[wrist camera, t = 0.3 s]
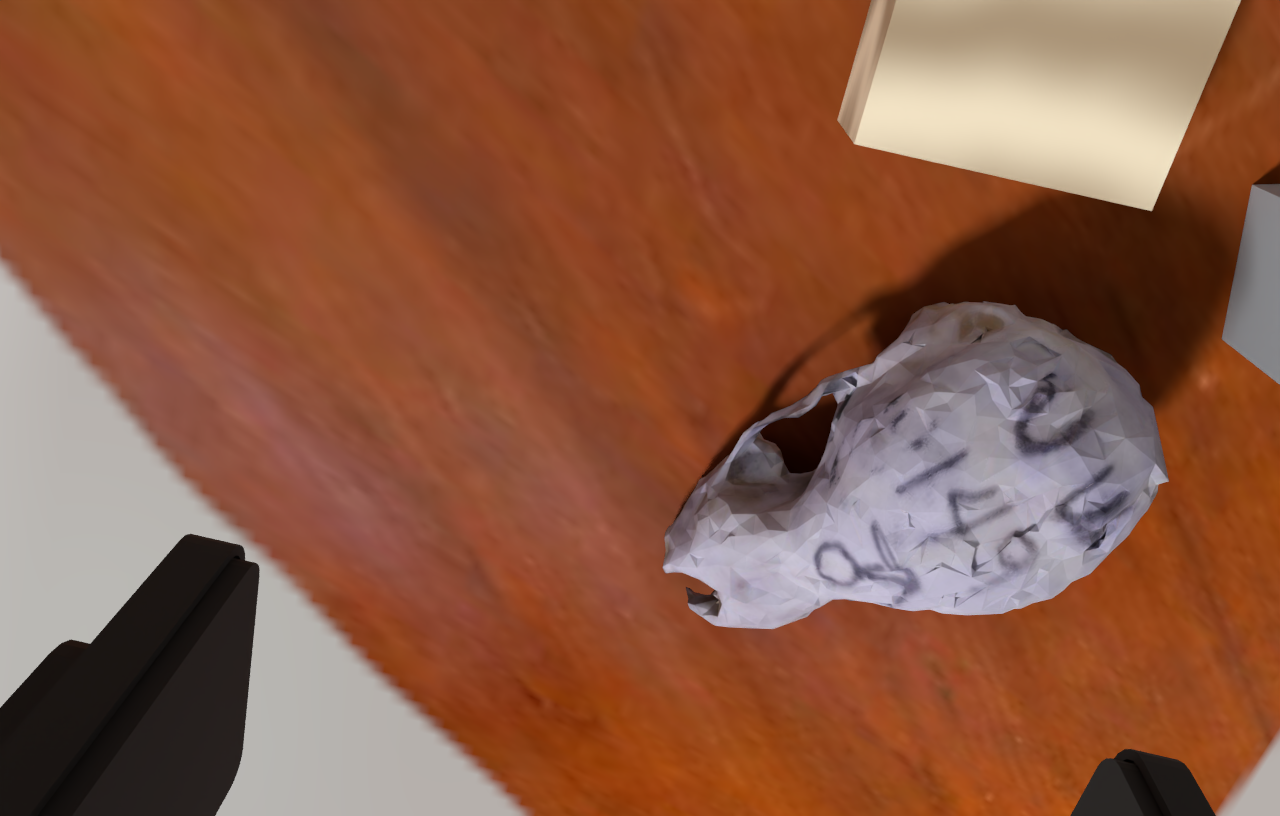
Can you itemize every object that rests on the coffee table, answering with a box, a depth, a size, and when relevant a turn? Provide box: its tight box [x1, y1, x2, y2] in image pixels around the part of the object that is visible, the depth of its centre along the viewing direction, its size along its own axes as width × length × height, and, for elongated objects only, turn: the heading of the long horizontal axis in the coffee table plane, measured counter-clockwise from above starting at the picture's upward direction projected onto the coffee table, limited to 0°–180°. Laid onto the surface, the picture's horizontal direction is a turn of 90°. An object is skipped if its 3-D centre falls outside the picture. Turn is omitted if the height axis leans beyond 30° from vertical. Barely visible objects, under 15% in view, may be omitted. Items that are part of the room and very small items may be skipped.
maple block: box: [838, 0, 1241, 211], centre depth 34 cm, size 10×10×5 cm
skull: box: [663, 301, 1169, 629], centre depth 40 cm, size 19×12×10 cm, turn 111°
